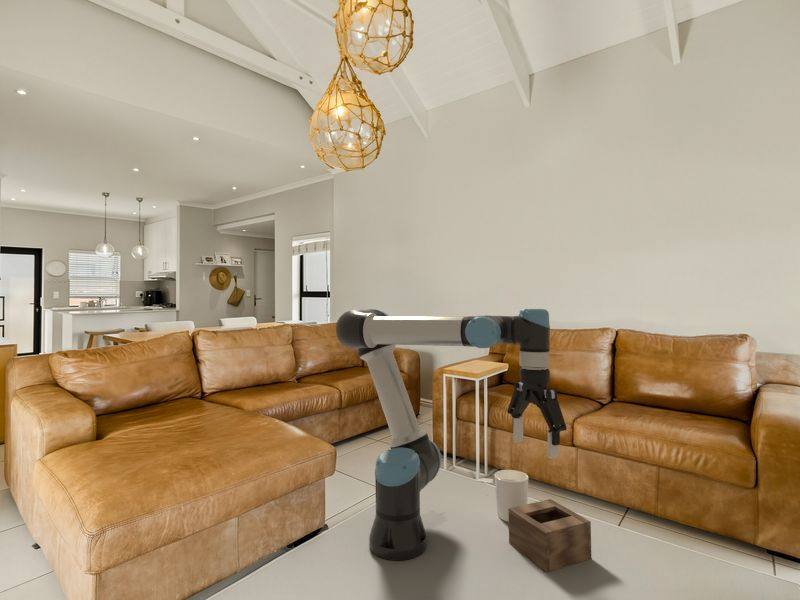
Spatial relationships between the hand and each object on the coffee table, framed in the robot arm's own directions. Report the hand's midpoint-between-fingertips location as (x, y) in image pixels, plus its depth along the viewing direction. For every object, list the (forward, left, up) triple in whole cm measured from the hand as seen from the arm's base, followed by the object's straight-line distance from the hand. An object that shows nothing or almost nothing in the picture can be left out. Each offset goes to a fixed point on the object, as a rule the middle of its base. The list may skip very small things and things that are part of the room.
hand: (534, 449), depth 113 cm
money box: (+1, -3, -25) cm, 25 cm away
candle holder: (+4, +16, -25) cm, 30 cm away
